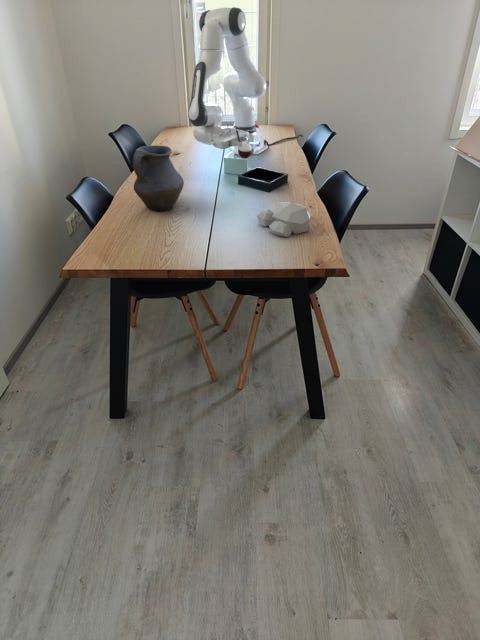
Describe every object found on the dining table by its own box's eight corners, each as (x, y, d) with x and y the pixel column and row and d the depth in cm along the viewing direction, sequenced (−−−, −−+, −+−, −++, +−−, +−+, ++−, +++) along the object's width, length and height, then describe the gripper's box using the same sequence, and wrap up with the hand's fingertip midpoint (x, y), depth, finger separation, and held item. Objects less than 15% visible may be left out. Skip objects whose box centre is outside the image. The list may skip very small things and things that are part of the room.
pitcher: (195, 203, 187) (191, 142, 172) (163, 222, 172) (155, 157, 157) (157, 194, 196) (150, 135, 181) (124, 211, 181) (113, 149, 166)
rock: (283, 242, 157) (284, 217, 151) (249, 224, 170) (249, 200, 164) (319, 229, 166) (322, 205, 160) (285, 212, 179) (286, 189, 173)
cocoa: (252, 156, 207) (256, 129, 200) (253, 160, 203) (257, 133, 195) (232, 153, 206) (235, 127, 199) (232, 158, 202) (236, 130, 194)
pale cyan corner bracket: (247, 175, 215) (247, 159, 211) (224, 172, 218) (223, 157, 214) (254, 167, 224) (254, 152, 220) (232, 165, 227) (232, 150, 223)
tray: (257, 175, 215) (257, 166, 213) (287, 182, 207) (288, 173, 204) (237, 184, 206) (237, 175, 203) (268, 192, 197) (269, 183, 194)
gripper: (207, 135, 199) (231, 140, 193) (235, 126, 212) (258, 130, 205) (207, 149, 203) (231, 155, 196) (235, 139, 216) (258, 144, 209)
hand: (245, 142), depth 201 cm, fingers closed on cocoa, 5 cm apart
